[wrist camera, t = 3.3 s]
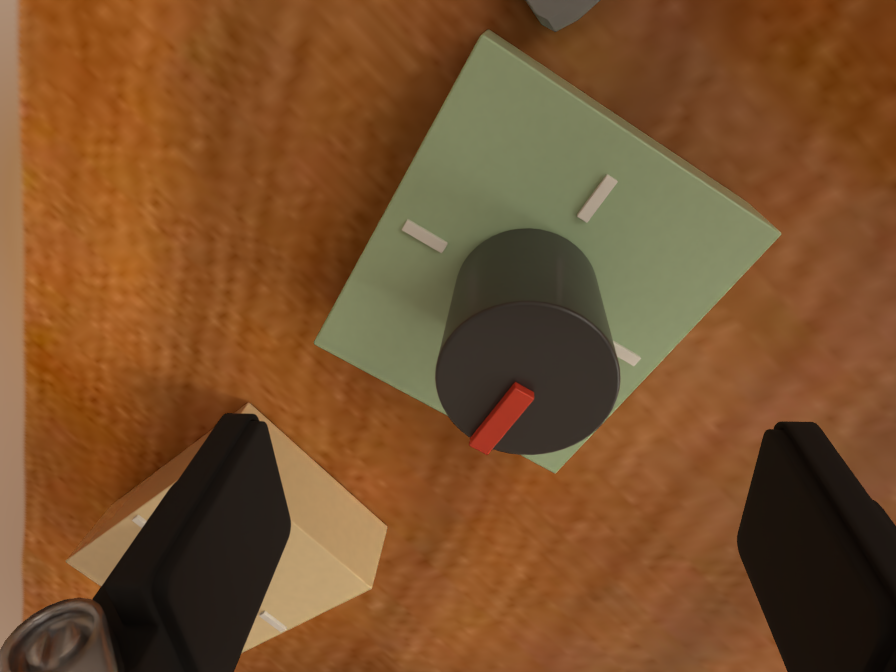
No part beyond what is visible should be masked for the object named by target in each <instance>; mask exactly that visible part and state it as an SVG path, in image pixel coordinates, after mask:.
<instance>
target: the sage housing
mask: <svg viewBox="0 0 896 672" xmlns="http://www.w3.org/2000/svg"><path fill="white" fill-rule="evenodd" d="M523 228H532V229H541V230H545V231H550V232H552V233H555V234H558V235H560V236H562V237H564V238H566V239H568V240H569V241H570V242H572V243H573V244H575V245H576V246H577V247H578V248H579V249H580V250H581V251H582V252H583V253H584V255H585V256H586V257H587V258H588V260H589V262H590V263H591V265H592V267H593V270H594V272H595V275H596V278H597V282H598V286H599V290H600V294H601V297H602V301H603V305H604V309H605V312H606V316H607V320H608V324H609V328H610V331H611V335H612V339H613V343H614V347H615V350H616V354H617V358H618V362H619V367H620V377H621V380H620V389H619V393H618V397H617V400H616V402H615V405H614V407H613V409H612V411H611V412H610V414H609V416H610V415H611V414H612V413H613V412H614V411H615V410H616V409H617V408H618V407H619V406H620V405H621V404H622V403H623V401H624V400H625V399H626V398H627V397H628V396H629V395H630V394H631V393H632V392H633V391H634V390H635V389H636V388H637V387H638V386H639V385H640V383H641V382H642V381H643V380H644V379H645V378H646V377H647V376H648V375H649V374H650V373H651V372H652V371H653V370H654V369H655V368H656V367H657V366H658V364H659V363H660V362H661V361H662V360H663V359H664V358H665V357H666V356H667V355H668V354H669V353H670V352H671V351H672V350H673V349H674V348H675V346H676V345H677V344H678V343H679V342H680V341H681V340H682V339H683V338H684V337H685V336H686V335H687V334H688V333H689V332H690V331H691V330H692V328H693V327H694V326H695V325H696V324H697V323H698V322H699V321H700V320H701V319H702V318H703V317H704V316H705V315H706V314H707V313H708V312H709V310H710V309H711V308H712V307H713V306H714V305H715V304H716V303H717V302H718V301H719V300H720V299H721V298H722V297H723V296H724V295H725V294H726V293H727V291H728V290H729V289H730V288H731V287H732V286H733V285H734V284H735V283H736V282H737V281H738V280H739V279H740V278H741V277H742V276H743V275H744V273H745V272H746V271H747V270H748V269H749V268H750V267H751V266H752V265H753V264H754V263H755V262H756V261H757V260H758V259H759V258H760V257H761V255H762V254H763V253H764V252H765V251H766V250H767V249H768V248H769V247H770V246H771V245H772V244H773V243H774V242H775V241H776V240H777V239H778V237H779V236H780V235H781V232H780V231H779V230H778V229H777V228H775V227H774V226H773V225H772V224H771V223H770V222H769V221H768V220H767V219H766V218H764V217H763V216H762V215H761V214H760V213H759V212H758V211H757V210H756V209H754V208H753V207H752V206H751V205H750V204H749V203H748V202H746V201H745V200H743V199H742V198H740V197H739V196H737V195H736V194H734V193H733V192H731V191H730V190H729V189H727V188H726V187H724V186H723V185H721V184H720V183H718V182H717V181H715V180H714V179H712V178H711V177H709V176H708V175H706V174H705V173H703V172H702V171H700V170H699V169H697V168H696V167H694V166H693V165H691V164H690V163H688V162H687V161H685V160H684V159H682V158H681V157H679V156H678V155H676V154H675V153H673V152H672V151H670V150H669V149H667V148H666V147H664V146H663V145H661V144H660V143H658V142H657V141H655V140H654V139H652V138H651V137H649V136H648V135H646V134H645V133H643V132H642V131H640V130H639V129H637V128H636V127H634V126H633V125H631V124H630V123H628V122H627V121H625V120H624V119H622V118H621V117H619V116H618V115H616V114H615V113H613V112H612V111H610V110H609V109H607V108H606V107H604V106H603V105H601V104H600V103H598V102H597V101H595V100H594V99H592V98H591V97H590V96H588V95H587V94H585V93H584V92H582V91H581V90H579V89H578V88H576V87H575V86H573V85H572V84H570V83H569V82H567V81H566V80H564V79H563V78H561V77H560V76H558V75H557V74H555V73H554V72H552V71H551V70H549V69H548V68H546V67H545V66H543V65H542V64H540V63H539V62H537V61H536V60H534V59H533V58H531V57H530V56H528V55H527V54H525V53H524V52H522V51H521V50H519V49H518V48H516V47H515V46H513V45H512V44H510V43H509V42H507V41H506V40H504V39H503V38H501V37H500V36H498V35H497V34H495V33H494V32H492V31H491V30H489V29H488V30H486V31H485V32H484V33H483V34H482V35H480V37H479V39H478V41H477V42H476V44H475V46H474V48H473V50H472V52H471V54H470V55H469V57H468V59H467V61H466V63H465V65H464V66H463V68H462V70H461V72H460V74H459V76H458V77H457V79H456V81H455V83H454V85H453V87H452V89H451V90H450V92H449V94H448V96H447V98H446V100H445V101H444V103H443V105H442V107H441V109H440V111H439V112H438V114H437V116H436V118H435V120H434V122H433V123H432V125H431V127H430V129H429V131H428V133H427V135H426V136H425V138H424V140H423V142H422V144H421V146H420V147H419V149H418V151H417V153H416V155H415V157H414V158H413V160H412V162H411V164H410V166H409V168H408V169H407V171H406V173H405V175H404V177H403V179H402V181H401V182H400V184H399V186H398V188H397V190H396V192H395V193H394V195H393V197H392V199H391V201H390V203H389V204H388V206H387V208H386V210H385V212H384V214H383V215H382V217H381V219H380V221H379V223H378V225H377V227H376V228H375V230H374V232H373V234H372V236H371V238H370V239H369V241H368V243H367V245H366V247H365V249H364V250H363V252H362V254H361V256H360V258H359V260H358V261H357V263H356V265H355V267H354V269H353V271H352V273H351V274H350V276H349V278H348V280H347V282H346V284H345V285H344V287H343V289H342V291H341V293H340V295H339V296H338V298H337V300H336V302H335V304H334V306H333V308H332V309H331V311H330V313H329V315H328V317H327V319H326V320H325V322H324V324H323V326H322V328H321V330H320V331H319V333H318V335H317V337H316V339H315V341H314V344H315V345H316V346H318V347H320V348H322V349H324V350H326V351H328V352H329V353H331V354H333V355H335V356H337V357H339V358H341V359H343V360H344V361H346V362H348V363H350V364H352V365H354V366H356V367H357V368H359V369H361V370H363V371H365V372H367V373H369V374H370V375H372V376H374V377H376V378H378V379H380V380H382V381H384V382H385V383H387V384H389V385H391V386H393V387H395V388H397V389H398V390H400V391H402V392H404V393H406V394H408V395H410V396H412V397H413V398H415V399H417V400H419V401H421V402H423V403H425V404H426V405H428V406H430V407H432V408H434V409H436V410H438V411H439V412H441V413H443V414H445V415H447V414H446V412H445V410H444V409H443V407H442V405H441V402H440V400H439V397H438V394H437V390H436V383H435V370H436V364H437V359H438V355H439V351H440V347H441V342H442V338H443V334H444V330H445V326H446V321H447V317H448V313H449V309H450V305H451V300H452V296H453V292H454V288H455V284H456V279H457V276H458V273H459V270H460V268H461V266H462V264H463V263H464V261H465V259H466V258H467V257H468V255H469V254H470V253H471V252H472V251H473V250H474V249H475V248H476V247H477V246H478V245H480V244H481V243H482V242H484V241H485V240H487V239H489V238H490V237H492V236H494V235H497V234H499V233H502V232H505V231H509V230H514V229H523ZM447 416H448V415H447ZM609 416H608V417H609ZM608 417H607V418H608ZM605 421H606V420H605ZM605 421H604V422H605ZM604 422H603V423H604ZM592 434H593V433H592ZM592 434H591V435H592ZM591 435H590V436H591ZM590 436H588V437H587V438H585V439H584V440H582V441H580V442H579V443H577V444H575V445H573V446H570V447H568V448H566V449H563V450H559V451H556V452H552V453H546V454H538V455H522V456H523V457H525V458H527V459H529V460H531V461H533V462H535V463H536V464H538V465H540V466H542V467H544V468H546V469H548V470H550V471H551V472H553V473H556V472H557V471H558V470H559V469H560V468H561V467H562V466H563V465H564V464H565V463H566V462H567V461H568V460H569V459H570V458H571V456H572V455H573V454H574V453H575V452H576V451H577V450H578V449H579V448H580V447H581V446H582V445H583V444H584V443H585V442H586V441H587V440H588V438H589V437H590Z"/></svg>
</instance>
